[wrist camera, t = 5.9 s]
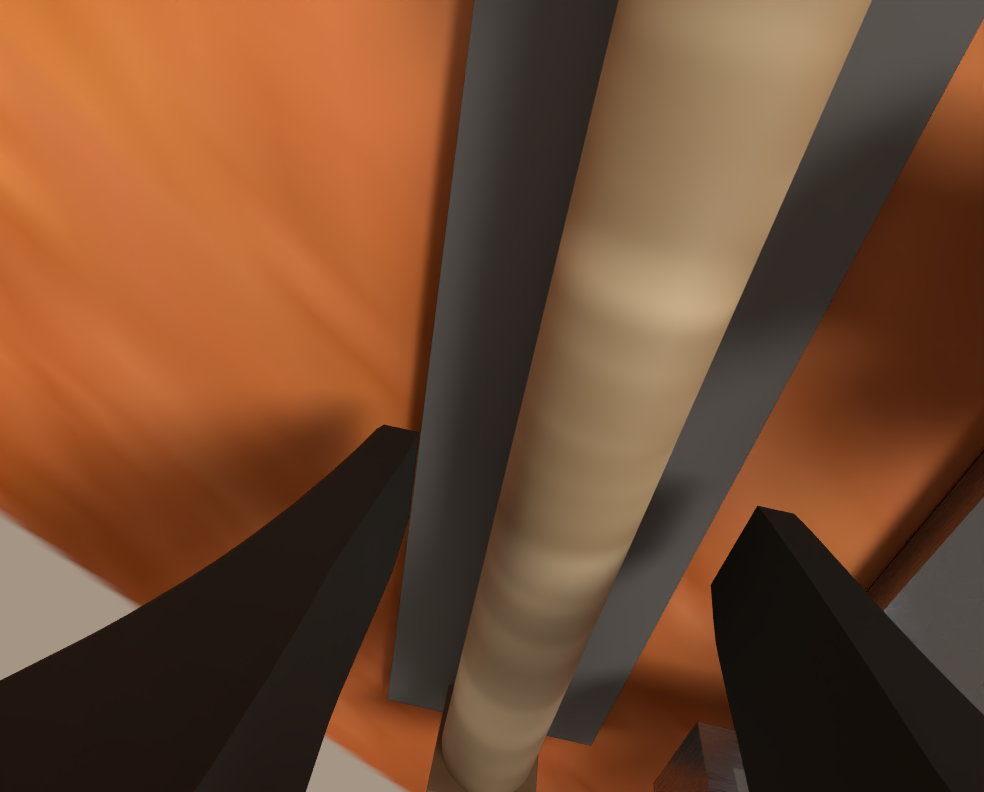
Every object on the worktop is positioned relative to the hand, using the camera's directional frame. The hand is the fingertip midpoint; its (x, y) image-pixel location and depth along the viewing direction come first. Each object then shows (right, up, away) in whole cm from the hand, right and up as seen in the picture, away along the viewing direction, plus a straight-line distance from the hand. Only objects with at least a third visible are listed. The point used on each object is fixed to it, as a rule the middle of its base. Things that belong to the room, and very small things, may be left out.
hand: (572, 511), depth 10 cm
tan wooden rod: (0, +1, +1) cm, 1 cm away
